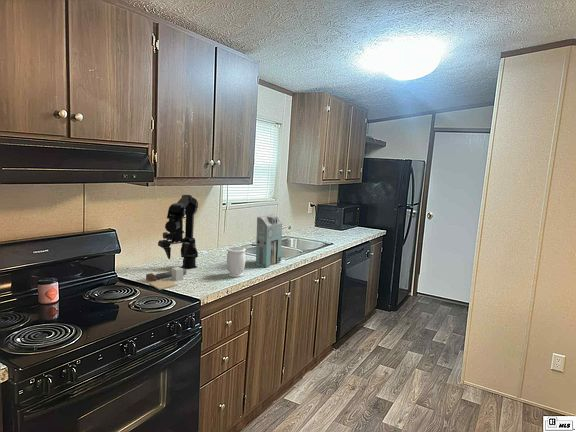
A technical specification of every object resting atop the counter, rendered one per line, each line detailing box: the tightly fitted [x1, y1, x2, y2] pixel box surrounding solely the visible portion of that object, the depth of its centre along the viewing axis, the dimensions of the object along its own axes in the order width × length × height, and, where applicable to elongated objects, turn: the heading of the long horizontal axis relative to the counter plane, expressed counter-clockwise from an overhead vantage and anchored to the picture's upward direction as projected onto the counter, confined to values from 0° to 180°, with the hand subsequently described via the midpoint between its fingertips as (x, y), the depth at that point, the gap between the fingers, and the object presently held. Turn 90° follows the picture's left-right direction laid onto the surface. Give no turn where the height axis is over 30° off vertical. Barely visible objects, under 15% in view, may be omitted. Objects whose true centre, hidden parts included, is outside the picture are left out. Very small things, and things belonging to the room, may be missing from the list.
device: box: [255, 213, 283, 269], centre depth 246 cm, size 16×8×30 cm, turn 148°
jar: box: [226, 246, 247, 278], centre depth 222 cm, size 11×10×15 cm
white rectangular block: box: [171, 266, 184, 282], centre depth 211 cm, size 4×5×6 cm
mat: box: [147, 278, 179, 291], centre depth 202 cm, size 10×12×1 cm
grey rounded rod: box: [155, 268, 187, 280], centre depth 216 cm, size 18×3×3 cm, turn 135°
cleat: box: [145, 272, 157, 282], centre depth 208 cm, size 3×5×3 cm, turn 44°
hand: (177, 258), depth 210 cm, fingers open, 9 cm apart
